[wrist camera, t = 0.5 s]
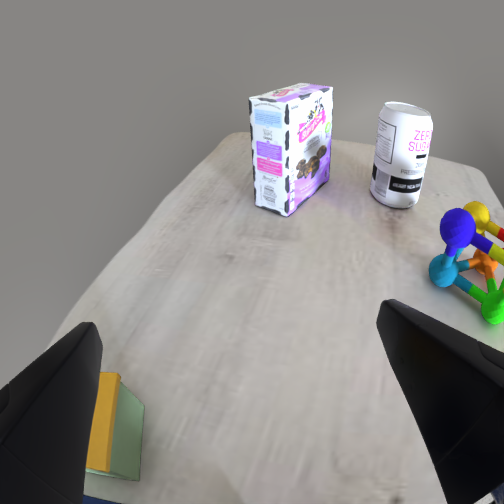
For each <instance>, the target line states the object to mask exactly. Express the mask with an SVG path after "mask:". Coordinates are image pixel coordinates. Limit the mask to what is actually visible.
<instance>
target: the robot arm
mask: <svg viewBox="0 0 504 504" xmlns="http://www.w3.org/2000/svg"><path fill="white" fill-rule="evenodd" d="M376 324H377V329H378V332H379V334H380V337H381V340H382V343H383V345H384V348H385V351H386V354H387V357H388V359H389V362H390V365H391V367H392V369H393V371H394V373H395V376H396V378H397V380H398V382H399V384H400V386H401V388H402V391H403V393H404V395H405V397H406V400H407V402H408V404H409V406H410V409H411V411H412V413H413V415H414V418H415V420H416V422H417V425H418V427H419V430H420V432H421V434H422V437H423V439H424V442H425V444H426V447H427V449H428V452H429V454H430V457H431V459H432V462H433V464H434V466H435V467H434V468H435V470H436V473H437V475H438V478H439V481H440V484H441V486H442V489H443V492H444V495H445V498H446V501H447V504H474V503H475V502H477V501H478V500H480V499H481V498H483V497H484V496H486V495H487V494H488V493H491V495H492V497H493V499H494V500H493V501H492V502H491V503H489V504H504V353H503V352H500V351H498V350H496V349H494V348H492V347H490V346H488V345H486V344H484V343H482V342H480V341H477V340H476V339H474V338H472V337H470V336H468V335H466V334H464V333H462V332H460V331H458V330H456V329H454V328H452V327H450V326H448V325H446V324H444V323H442V322H440V321H438V320H436V319H434V318H432V317H430V316H428V315H426V314H424V313H422V312H420V311H418V310H416V309H414V308H412V307H410V306H407V305H405V304H403V303H401V302H399V301H397V300H395V299H390V300H384V301H383V302H382V303H381V306H380V310H379V314H378V317H377V322H376ZM102 351H103V345H102V341H101V339H100V336H99V333H98V331H97V328H96V325H95V324H94V323H93V322H82V323H80V324H79V325H78V326H76V327H75V328H74V329H72V330H71V331H70V332H69V333H67V334H66V335H65V336H64V337H63V338H61V339H60V340H59V341H58V342H56V343H55V344H54V345H53V346H51V347H50V348H49V349H48V350H47V351H45V352H44V353H43V354H42V355H41V356H39V357H38V358H37V359H36V360H35V361H33V362H32V363H31V364H30V365H29V366H27V367H26V368H25V369H24V370H23V371H22V372H20V373H19V374H18V375H17V376H16V377H15V378H14V379H12V380H11V381H10V382H9V384H6V385H5V386H4V387H3V388H2V389H1V390H0V504H83V491H84V480H85V471H86V462H87V455H88V447H89V441H90V434H91V428H92V422H93V416H94V411H95V405H96V400H97V395H98V388H99V378H100V368H101V359H102Z"/></svg>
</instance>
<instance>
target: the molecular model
mask: <svg viewBox="0 0 504 504" xmlns="http://www.w3.org/2000/svg"><path fill="white" fill-rule="evenodd" d="M485 231H487V232H489V233H491V234H492V235H494V236H495V237H497V238H498V239H500V240H501V241H503V242H504V229H503V228H501V227H499V226H498V225H496V224H495V223H493V222H492V221H490V214H489V211H488V209H487V207H486V206H485V205H484V204H482V203H480V202H477V201H473V202H470V203H468V204H466V205H465V207H464V208H463V209H461V208H455V209H452V210H449V211H447V212H446V213H445V215H444V216H443V218H442V219H441V222H440V234H441V237H442V239H443V240H444V242H445V243H446V244H447V246H446V249H445V252H444V254H440V255H438V256H436V257H435V258H434V259H433V260H432V261H431V263H430V265H429V276H430V279H431V281H432V282H433V283H434V284H435V285H437V286H439V287H447V286H450V285H452V284H455V285H456V286H458V287H459V288H460V289H462V290H463V291H465V292H466V293H468V294H469V295H470V296H472V297H473V298H475V299H476V300H477V301H479V302H480V303H482V305H481V312H482V316H483V317H484V319H485V320H486V321H487V322H489V323H491V324H499V323H501V322H503V321H504V278H503V281H502V283H501V285H500V288H499V290H497V286H496V281H495V277H494V273H493V272H494V271H495V269H496V268H497V266H498V262H499V263H500V264H502V265H503V266H504V248H500V247H499V246H497V245H496V244H494V243H493V242H491V241H490V240H488V239H487V238H485V234H484V232H485ZM469 244H472V245H473V246H475V247H476V248H478V249H477V250H476V251H475V253H474V256H473V258H471V259H467V260H463V261H459V262H456V260H457V259H458V257H459V256H460V254H461V252H462V251H463V249H464V248H465V247H467V246H468V245H469ZM473 268H475V269H476V270H477V272H479V273H481V274H483V275H485V278H486V283H487V288H488V294H487V293H485V292H484V291H482V290H481V289H480V288H478V287H477V286H475V285H474V284H472V283H471V282H469V281H468V280H467V279H465V278H464V277H462V276H461V275H459V274H458V273H459V272H462V271H466V270H470V269H473Z"/></svg>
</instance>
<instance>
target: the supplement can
mask: <svg viewBox="0 0 504 504" xmlns="http://www.w3.org/2000/svg"><path fill="white" fill-rule="evenodd" d="M432 129H433V123H432V120H431V117H430V113H429V112H428V111H426V110H424V109H422V108H419V107H417V106H413V105H410V104H405V103H399V102H386V103H385V104H384V107H383V109H382V110H381V111H380V113H379V122H378V132H377V141H376V149H375V157H374V165H373V172H372V179H371V186H370V189H371V193H372V194H373V195H374V197H375V198H376V199H377V200H378V201H379V202H381V203H383V204H385V205H387V206H390V207H394V208H408V207H410V206H412V205H414V204H415V203H416V202H417V201H418V197H419V193H420V189H421V185H422V180H423V176H424V171H425V167H426V162H427V157H428V152H429V147H430V140H431V135H432Z"/></svg>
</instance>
